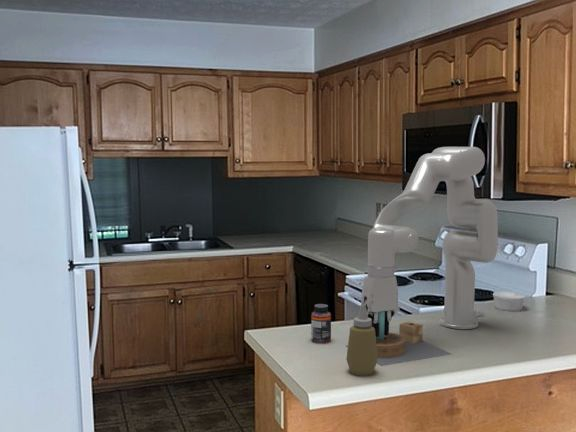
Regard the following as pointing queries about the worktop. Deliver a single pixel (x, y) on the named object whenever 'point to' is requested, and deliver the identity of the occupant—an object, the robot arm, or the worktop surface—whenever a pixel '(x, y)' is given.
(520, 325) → the worktop surface
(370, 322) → the squeeze bottle
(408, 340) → the cube bead
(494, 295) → the ramekin
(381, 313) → the teal marker pen
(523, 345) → the worktop surface
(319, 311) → the supplement bottle
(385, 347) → the faceted wooden ring
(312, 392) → the worktop surface
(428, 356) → the felt mat
